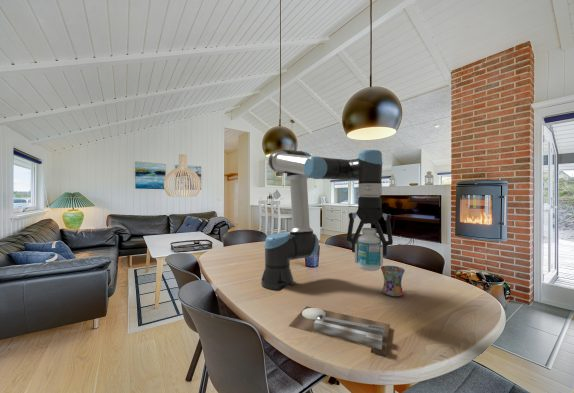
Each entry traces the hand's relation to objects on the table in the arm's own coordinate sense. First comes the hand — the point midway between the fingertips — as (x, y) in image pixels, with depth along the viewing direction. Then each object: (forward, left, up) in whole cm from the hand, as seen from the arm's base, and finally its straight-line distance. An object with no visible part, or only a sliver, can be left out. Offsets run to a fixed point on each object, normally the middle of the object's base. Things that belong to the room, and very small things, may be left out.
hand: (368, 263), depth 83 cm
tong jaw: (-4, -14, -17) cm, 22 cm away
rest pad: (-17, -9, -17) cm, 25 cm away
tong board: (-7, -12, -18) cm, 23 cm away
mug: (+6, +27, -19) cm, 33 cm away
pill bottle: (0, 0, -2) cm, 2 cm away
